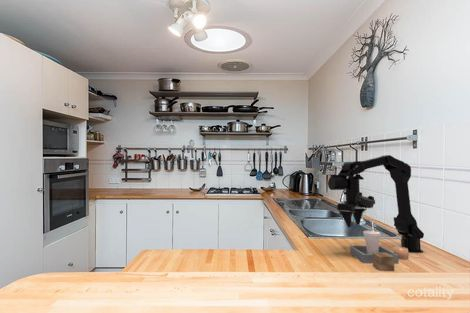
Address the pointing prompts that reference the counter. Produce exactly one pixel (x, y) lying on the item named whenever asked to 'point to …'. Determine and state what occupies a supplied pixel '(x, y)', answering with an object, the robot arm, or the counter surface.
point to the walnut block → (383, 261)
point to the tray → (362, 255)
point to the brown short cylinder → (401, 252)
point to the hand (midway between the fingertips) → (353, 225)
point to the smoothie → (372, 240)
